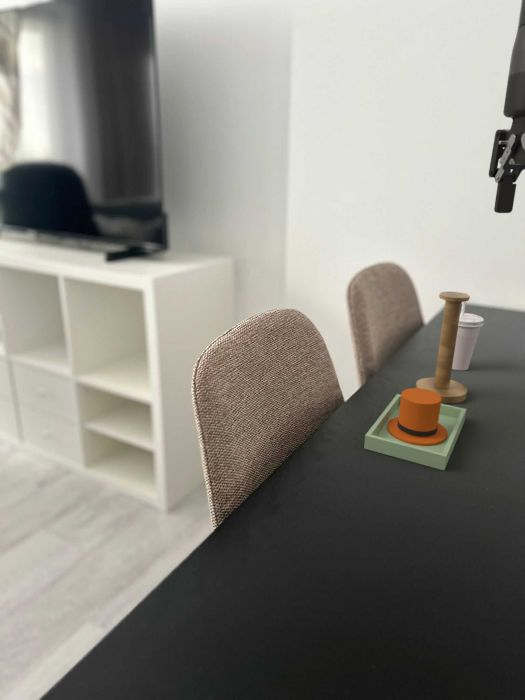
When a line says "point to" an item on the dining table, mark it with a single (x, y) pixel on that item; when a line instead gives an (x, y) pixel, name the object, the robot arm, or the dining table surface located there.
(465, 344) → the smoothie
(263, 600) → the dining table surface
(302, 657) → the dining table surface
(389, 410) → the tray
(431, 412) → the hat
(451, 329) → the hat stand
